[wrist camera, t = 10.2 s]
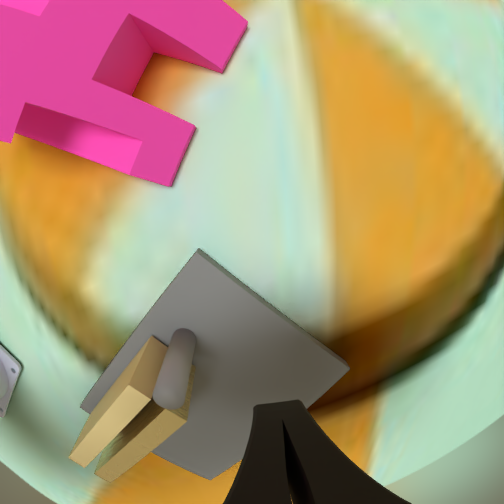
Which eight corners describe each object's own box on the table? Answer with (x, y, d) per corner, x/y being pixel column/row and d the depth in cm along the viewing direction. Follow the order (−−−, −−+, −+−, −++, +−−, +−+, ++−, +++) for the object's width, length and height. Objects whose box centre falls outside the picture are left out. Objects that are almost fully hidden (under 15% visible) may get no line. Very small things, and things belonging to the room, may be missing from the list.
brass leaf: (179, 355, 17) (165, 408, 12) (195, 366, 17) (187, 421, 13) (112, 427, 18) (94, 473, 14) (126, 435, 19) (110, 482, 14)
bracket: (16, 128, 15) (-101, 114, 5) (83, -6, 13) (12, -84, 3) (171, 186, 16) (89, 197, 6) (247, 28, 14) (263, -97, 4)
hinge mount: (210, 471, 21) (208, 531, 15) (84, 399, 19) (52, 456, 13) (345, 360, 19) (382, 422, 13) (198, 248, 17) (180, 286, 11)
